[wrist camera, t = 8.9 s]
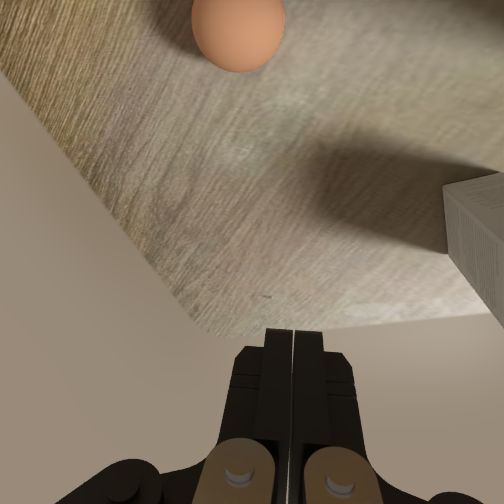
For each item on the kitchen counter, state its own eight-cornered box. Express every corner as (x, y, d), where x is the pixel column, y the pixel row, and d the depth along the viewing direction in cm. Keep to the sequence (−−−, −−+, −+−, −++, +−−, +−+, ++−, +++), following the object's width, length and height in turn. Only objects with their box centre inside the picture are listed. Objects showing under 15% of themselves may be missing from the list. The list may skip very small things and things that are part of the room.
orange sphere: (265, 87, 23) (296, 61, 27) (261, -30, 20) (298, -41, 24) (181, 80, 25) (222, 57, 29) (165, -28, 22) (213, -38, 25)
